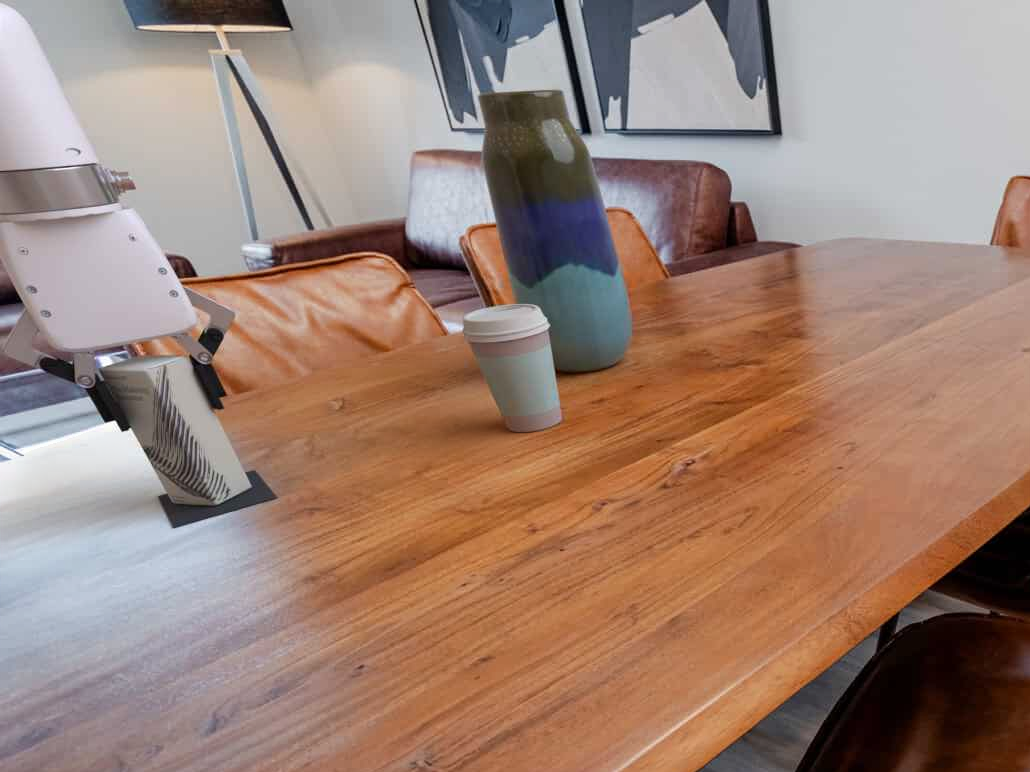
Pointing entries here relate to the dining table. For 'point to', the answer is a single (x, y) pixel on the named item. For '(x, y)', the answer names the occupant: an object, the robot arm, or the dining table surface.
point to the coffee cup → (516, 363)
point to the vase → (555, 227)
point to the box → (177, 428)
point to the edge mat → (193, 513)
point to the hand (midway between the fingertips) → (171, 415)
